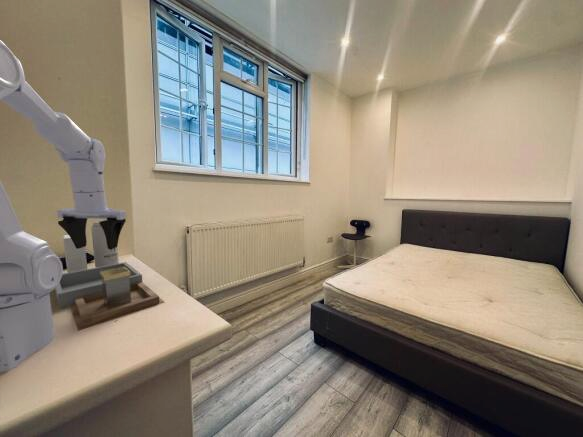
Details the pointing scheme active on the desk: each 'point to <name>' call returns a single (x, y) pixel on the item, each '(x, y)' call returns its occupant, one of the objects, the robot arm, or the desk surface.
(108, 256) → the energy drink can
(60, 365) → the desk surface
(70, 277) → the bin
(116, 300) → the grey tall block
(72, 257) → the skincare box
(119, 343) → the desk surface
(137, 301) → the socket block
